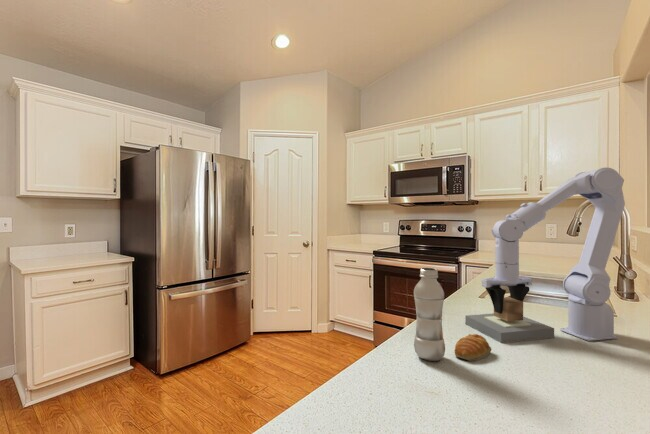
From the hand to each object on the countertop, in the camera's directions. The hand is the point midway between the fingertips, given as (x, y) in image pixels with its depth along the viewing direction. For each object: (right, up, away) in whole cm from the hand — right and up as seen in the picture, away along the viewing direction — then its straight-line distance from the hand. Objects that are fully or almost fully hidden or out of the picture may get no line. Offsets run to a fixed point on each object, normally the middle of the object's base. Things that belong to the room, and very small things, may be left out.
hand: (507, 311), depth 86 cm
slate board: (0, -5, 0) cm, 5 cm away
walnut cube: (0, -2, 0) cm, 2 cm away
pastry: (-17, -6, -14) cm, 23 cm away
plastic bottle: (-27, -6, -17) cm, 32 cm away
